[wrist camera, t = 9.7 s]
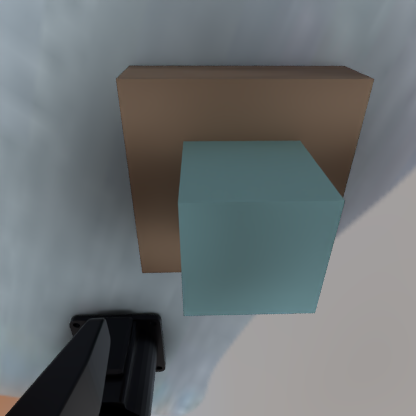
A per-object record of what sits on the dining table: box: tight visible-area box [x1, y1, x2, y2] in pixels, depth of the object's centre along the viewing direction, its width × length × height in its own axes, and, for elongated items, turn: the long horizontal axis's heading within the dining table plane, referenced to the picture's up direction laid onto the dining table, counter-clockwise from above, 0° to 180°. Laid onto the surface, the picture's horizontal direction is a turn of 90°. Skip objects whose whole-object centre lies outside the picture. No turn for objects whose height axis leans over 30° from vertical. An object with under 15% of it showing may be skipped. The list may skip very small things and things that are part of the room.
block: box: [178, 141, 345, 316], centre depth 13 cm, size 5×5×5 cm
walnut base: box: [116, 66, 374, 273], centre depth 17 cm, size 10×10×3 cm
